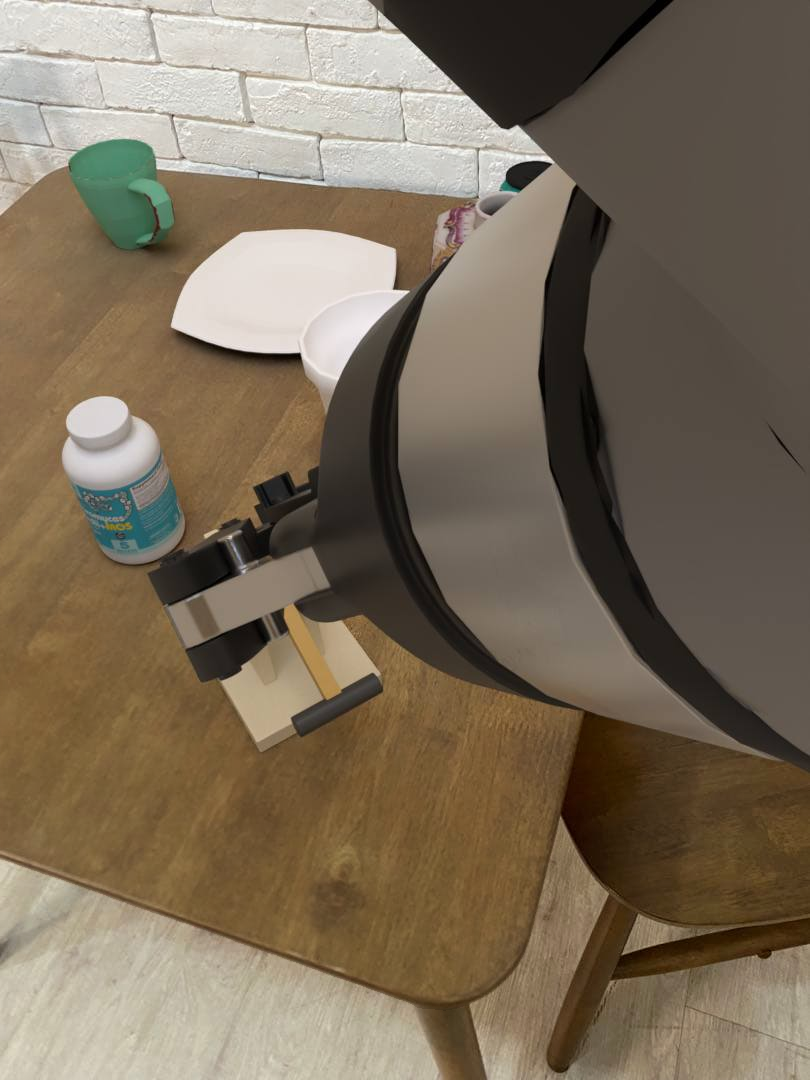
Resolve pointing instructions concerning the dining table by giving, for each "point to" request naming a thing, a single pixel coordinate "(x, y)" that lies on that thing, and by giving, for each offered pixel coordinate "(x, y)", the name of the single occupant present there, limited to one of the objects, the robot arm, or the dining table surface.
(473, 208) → the decorative jar
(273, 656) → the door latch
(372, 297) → the cup
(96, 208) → the mug
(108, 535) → the pill bottle
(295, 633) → the latch lever
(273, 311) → the plate
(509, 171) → the teal jar
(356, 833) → the dining table surface
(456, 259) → the robot arm
